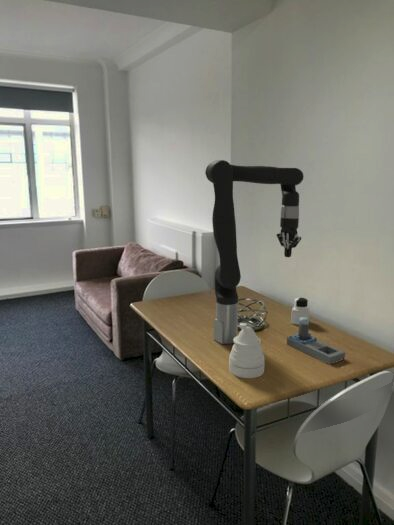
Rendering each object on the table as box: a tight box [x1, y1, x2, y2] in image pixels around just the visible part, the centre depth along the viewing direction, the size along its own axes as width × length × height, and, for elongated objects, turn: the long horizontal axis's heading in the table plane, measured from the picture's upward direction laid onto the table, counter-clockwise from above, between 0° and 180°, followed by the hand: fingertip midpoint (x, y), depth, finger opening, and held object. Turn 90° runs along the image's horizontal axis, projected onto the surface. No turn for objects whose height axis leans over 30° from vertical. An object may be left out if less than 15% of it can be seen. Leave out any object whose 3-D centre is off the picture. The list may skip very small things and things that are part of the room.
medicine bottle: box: [290, 297, 310, 326], centre depth 201 cm, size 7×7×12 cm
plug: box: [297, 317, 310, 341], centre depth 175 cm, size 4×4×12 cm
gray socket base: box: [286, 331, 346, 365], centre depth 170 cm, size 23×9×5 cm, turn 32°
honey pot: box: [228, 322, 265, 379], centre depth 154 cm, size 13×13×18 cm
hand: (287, 256), depth 182 cm, fingers closed
